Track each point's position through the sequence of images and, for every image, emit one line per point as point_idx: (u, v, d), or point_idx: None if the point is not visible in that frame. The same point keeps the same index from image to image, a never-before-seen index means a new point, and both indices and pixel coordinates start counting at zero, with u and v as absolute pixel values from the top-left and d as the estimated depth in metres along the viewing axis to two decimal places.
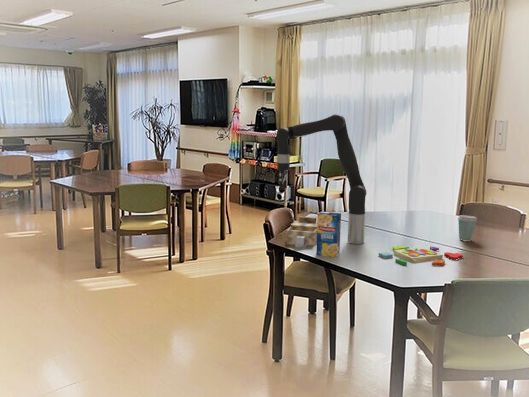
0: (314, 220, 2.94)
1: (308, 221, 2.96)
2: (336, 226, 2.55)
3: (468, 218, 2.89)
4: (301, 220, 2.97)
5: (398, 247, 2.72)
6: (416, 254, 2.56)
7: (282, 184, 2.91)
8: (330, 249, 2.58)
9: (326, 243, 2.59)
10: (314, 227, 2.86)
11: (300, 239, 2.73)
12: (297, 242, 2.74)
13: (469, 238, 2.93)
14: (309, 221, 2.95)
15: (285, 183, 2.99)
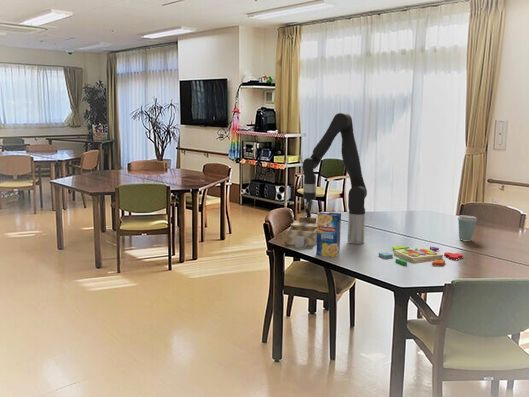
0: (314, 220, 2.94)
1: (308, 221, 2.96)
2: (336, 226, 2.55)
3: (468, 218, 2.89)
4: (301, 220, 2.97)
5: (398, 247, 2.72)
6: (416, 254, 2.56)
7: None
8: (330, 249, 2.58)
9: (326, 243, 2.59)
10: (314, 227, 2.86)
11: (300, 239, 2.73)
12: (297, 242, 2.74)
13: (469, 238, 2.93)
14: (309, 221, 2.95)
15: None
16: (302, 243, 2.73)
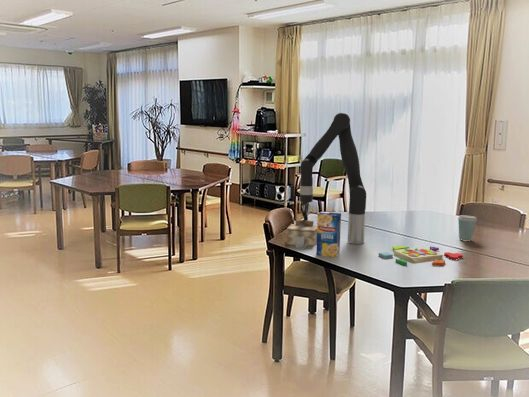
0: (311, 223, 2.86)
1: (305, 224, 2.87)
2: (336, 226, 2.55)
3: (468, 218, 2.89)
4: (298, 223, 2.88)
5: (398, 247, 2.72)
6: (416, 254, 2.56)
7: (306, 217, 2.89)
8: (330, 249, 2.58)
9: (326, 243, 2.59)
10: (311, 231, 2.77)
11: (300, 239, 2.73)
12: (297, 242, 2.74)
13: (469, 238, 2.93)
14: (306, 224, 2.87)
15: None
16: (302, 243, 2.73)
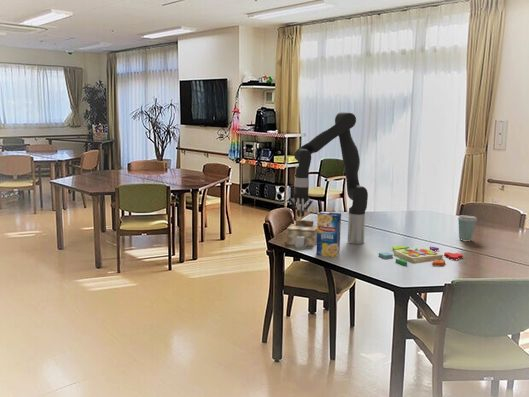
0: (311, 223, 2.86)
1: (305, 224, 2.87)
2: (336, 226, 2.55)
3: (468, 218, 2.89)
4: (298, 223, 2.88)
5: (398, 247, 2.72)
6: (416, 254, 2.56)
7: None
8: (330, 249, 2.58)
9: (326, 243, 2.59)
10: (311, 231, 2.77)
11: (300, 239, 2.73)
12: (297, 242, 2.74)
13: (469, 238, 2.93)
14: (306, 224, 2.87)
15: None
16: (302, 243, 2.73)
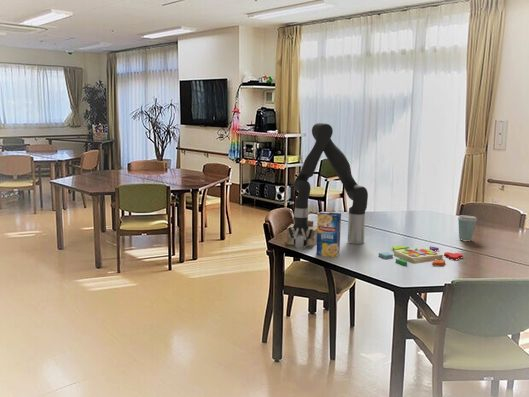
0: (311, 223, 2.86)
1: None
2: (336, 226, 2.55)
3: (468, 218, 2.89)
4: None
5: (398, 247, 2.72)
6: (416, 254, 2.56)
7: (295, 239, 2.75)
8: (330, 249, 2.58)
9: (326, 243, 2.59)
10: None
11: (300, 239, 2.73)
12: (297, 241, 2.74)
13: (469, 238, 2.93)
14: None
15: None
16: (302, 243, 2.73)
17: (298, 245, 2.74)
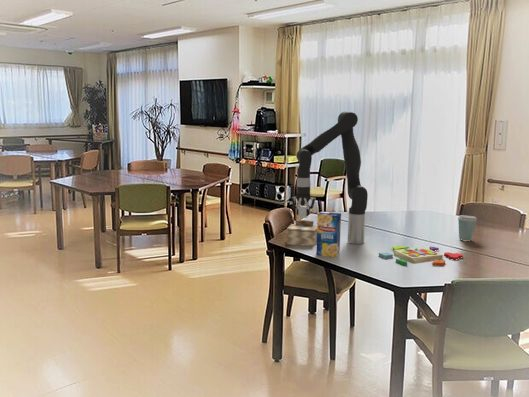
0: (311, 223, 2.86)
1: (305, 224, 2.87)
2: (336, 226, 2.55)
3: (468, 218, 2.89)
4: (298, 223, 2.88)
5: (398, 247, 2.72)
6: (416, 254, 2.56)
7: (297, 209, 2.78)
8: (330, 249, 2.58)
9: (326, 243, 2.59)
10: (311, 231, 2.77)
11: (303, 208, 2.76)
12: (300, 211, 2.77)
13: (469, 238, 2.93)
14: (306, 224, 2.87)
15: None
16: (305, 212, 2.76)
17: (301, 215, 2.77)
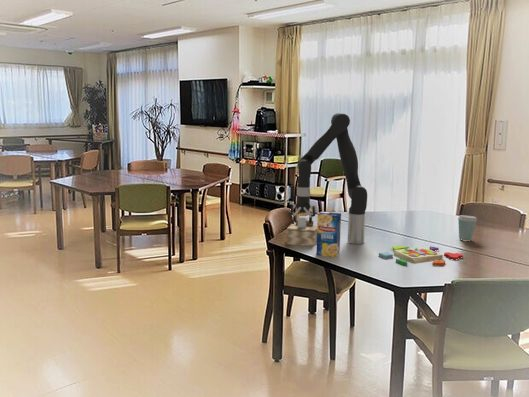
0: (311, 223, 2.86)
1: None
2: (336, 226, 2.55)
3: (468, 218, 2.89)
4: None
5: (398, 247, 2.72)
6: (416, 254, 2.56)
7: None
8: (330, 249, 2.58)
9: (326, 243, 2.59)
10: (311, 231, 2.77)
11: (302, 219, 2.80)
12: (299, 222, 2.81)
13: (469, 238, 2.93)
14: None
15: None
16: (304, 223, 2.80)
17: (300, 225, 2.81)
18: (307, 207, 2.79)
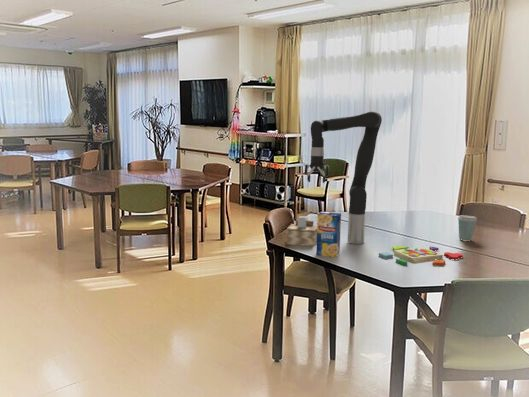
0: (311, 223, 2.86)
1: None
2: (336, 226, 2.55)
3: (468, 218, 2.89)
4: None
5: (398, 247, 2.72)
6: (416, 254, 2.56)
7: (308, 176, 2.94)
8: (330, 249, 2.58)
9: (326, 243, 2.59)
10: (311, 231, 2.77)
11: (302, 219, 2.80)
12: (299, 222, 2.81)
13: (469, 238, 2.93)
14: None
15: None
16: (304, 223, 2.80)
17: (300, 225, 2.81)
18: (321, 167, 2.91)
